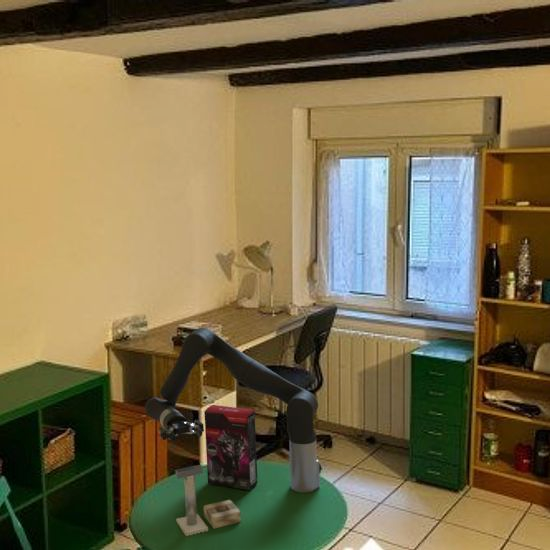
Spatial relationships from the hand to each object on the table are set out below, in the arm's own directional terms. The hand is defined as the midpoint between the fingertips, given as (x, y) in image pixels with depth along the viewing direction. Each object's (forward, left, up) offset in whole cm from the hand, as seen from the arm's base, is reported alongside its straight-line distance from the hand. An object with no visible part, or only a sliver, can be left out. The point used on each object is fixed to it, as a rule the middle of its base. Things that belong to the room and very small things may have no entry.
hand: (188, 436), depth 232 cm
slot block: (-6, +13, -24) cm, 28 cm away
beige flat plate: (+4, +13, -24) cm, 28 cm away
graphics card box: (-18, -9, -24) cm, 31 cm away
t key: (+4, +13, -23) cm, 27 cm away
